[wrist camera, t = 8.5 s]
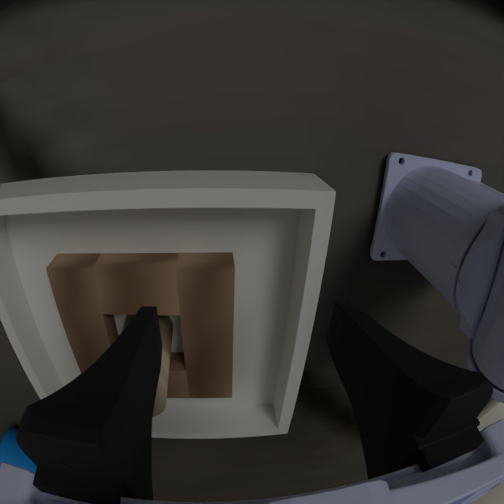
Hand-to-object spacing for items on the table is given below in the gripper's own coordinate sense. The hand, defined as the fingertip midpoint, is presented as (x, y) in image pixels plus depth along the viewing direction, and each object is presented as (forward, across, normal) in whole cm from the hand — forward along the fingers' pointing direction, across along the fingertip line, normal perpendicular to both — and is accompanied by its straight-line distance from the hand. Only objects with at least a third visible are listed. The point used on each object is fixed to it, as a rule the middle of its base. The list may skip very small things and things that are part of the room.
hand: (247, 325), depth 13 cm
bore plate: (+9, +6, +7) cm, 13 cm away
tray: (+9, +6, +7) cm, 13 cm away
